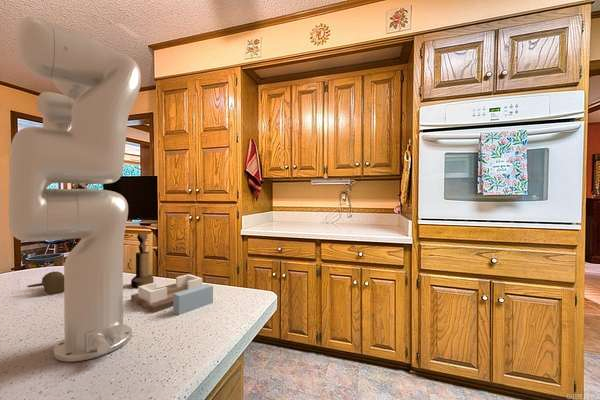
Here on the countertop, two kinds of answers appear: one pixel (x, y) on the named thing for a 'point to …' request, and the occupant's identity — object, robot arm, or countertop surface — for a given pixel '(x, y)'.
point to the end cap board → (162, 303)
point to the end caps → (154, 295)
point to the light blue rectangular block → (192, 299)
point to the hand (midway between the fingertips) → (60, 200)
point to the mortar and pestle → (142, 264)
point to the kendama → (52, 283)
